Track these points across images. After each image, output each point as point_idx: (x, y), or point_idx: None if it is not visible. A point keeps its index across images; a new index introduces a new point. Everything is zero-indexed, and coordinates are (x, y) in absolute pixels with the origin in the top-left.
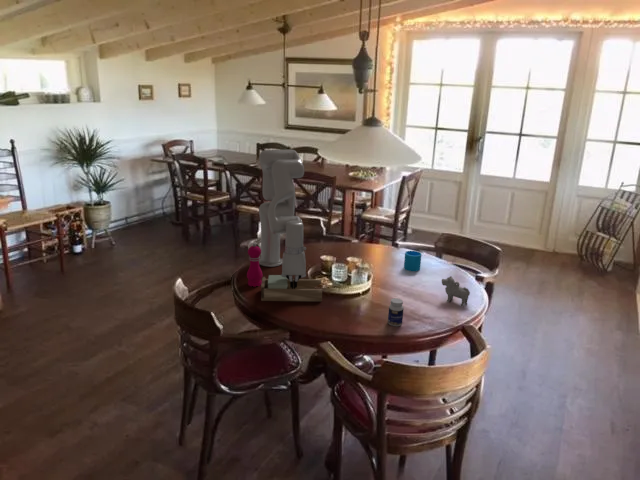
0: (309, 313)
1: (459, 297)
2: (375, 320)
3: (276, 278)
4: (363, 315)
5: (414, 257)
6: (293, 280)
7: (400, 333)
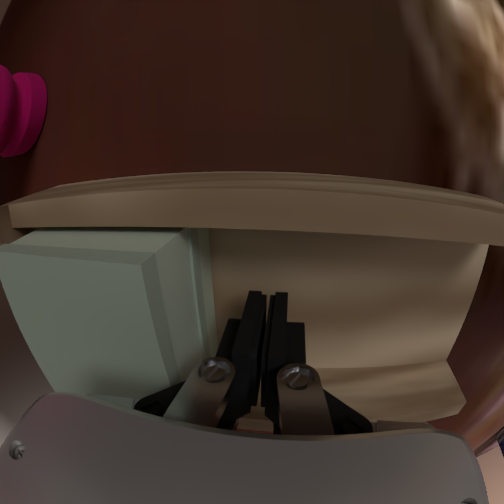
0: None
1: None
2: (490, 429)
3: (63, 345)
4: (487, 418)
5: None
6: (264, 228)
7: (486, 450)
